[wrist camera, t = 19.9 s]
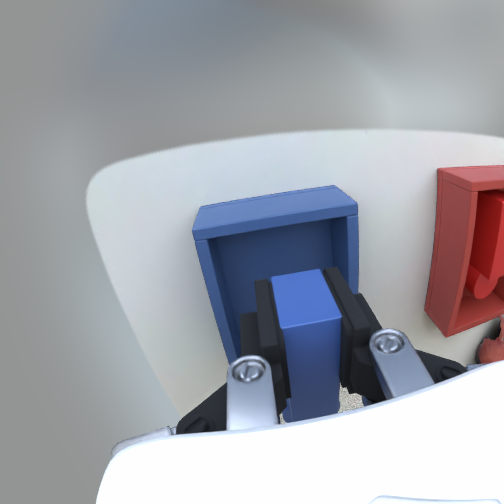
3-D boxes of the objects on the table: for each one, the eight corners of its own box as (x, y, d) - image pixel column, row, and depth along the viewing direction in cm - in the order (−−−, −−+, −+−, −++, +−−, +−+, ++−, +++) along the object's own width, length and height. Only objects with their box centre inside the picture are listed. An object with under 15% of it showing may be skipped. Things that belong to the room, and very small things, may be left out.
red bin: (437, 168, 16) (472, 181, 13) (506, 165, 16) (539, 177, 13) (423, 310, 21) (445, 338, 18) (488, 289, 21) (511, 311, 18)
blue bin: (199, 206, 17) (191, 229, 14) (334, 184, 17) (358, 202, 13) (236, 353, 22) (237, 390, 18) (339, 335, 21) (353, 369, 18)
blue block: (260, 278, 12) (266, 330, 9) (329, 266, 12) (354, 314, 9) (280, 399, 15) (287, 447, 13) (330, 390, 15) (343, 436, 12)
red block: (468, 187, 16) (499, 202, 13) (493, 185, 16) (522, 199, 13) (455, 288, 20) (477, 310, 17) (479, 280, 20) (501, 301, 17)
